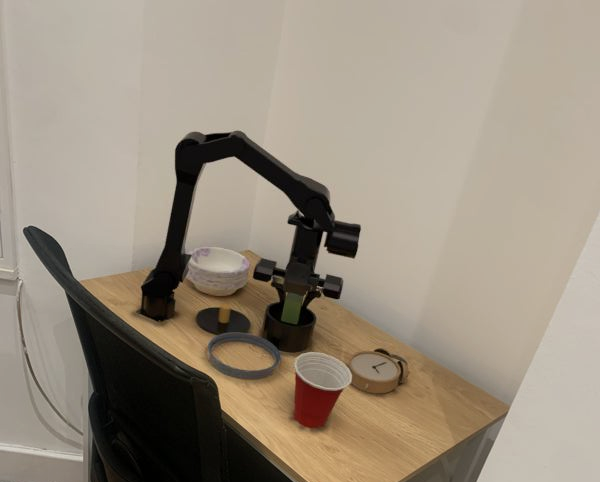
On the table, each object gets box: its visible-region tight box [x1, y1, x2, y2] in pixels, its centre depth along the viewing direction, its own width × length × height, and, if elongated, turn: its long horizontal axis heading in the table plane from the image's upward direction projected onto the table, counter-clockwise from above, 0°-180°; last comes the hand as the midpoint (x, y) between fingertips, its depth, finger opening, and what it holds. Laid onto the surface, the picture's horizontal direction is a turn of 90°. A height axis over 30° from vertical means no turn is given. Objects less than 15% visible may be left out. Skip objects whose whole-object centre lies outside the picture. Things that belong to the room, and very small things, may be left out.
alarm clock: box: [347, 347, 411, 394], centre depth 138 cm, size 11×5×15 cm
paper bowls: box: [185, 246, 251, 297], centre depth 157 cm, size 15×15×8 cm
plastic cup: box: [293, 351, 352, 429], centre depth 118 cm, size 11×11×12 cm
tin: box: [260, 301, 317, 354], centre depth 142 cm, size 11×11×7 cm
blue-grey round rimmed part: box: [206, 332, 282, 381], centre depth 133 cm, size 15×15×2 cm
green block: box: [281, 292, 305, 325], centre depth 140 cm, size 4×4×6 cm
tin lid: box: [195, 303, 252, 336], centre depth 143 cm, size 12×12×5 cm
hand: (291, 313), depth 140 cm, fingers closed on green block, 3 cm apart
